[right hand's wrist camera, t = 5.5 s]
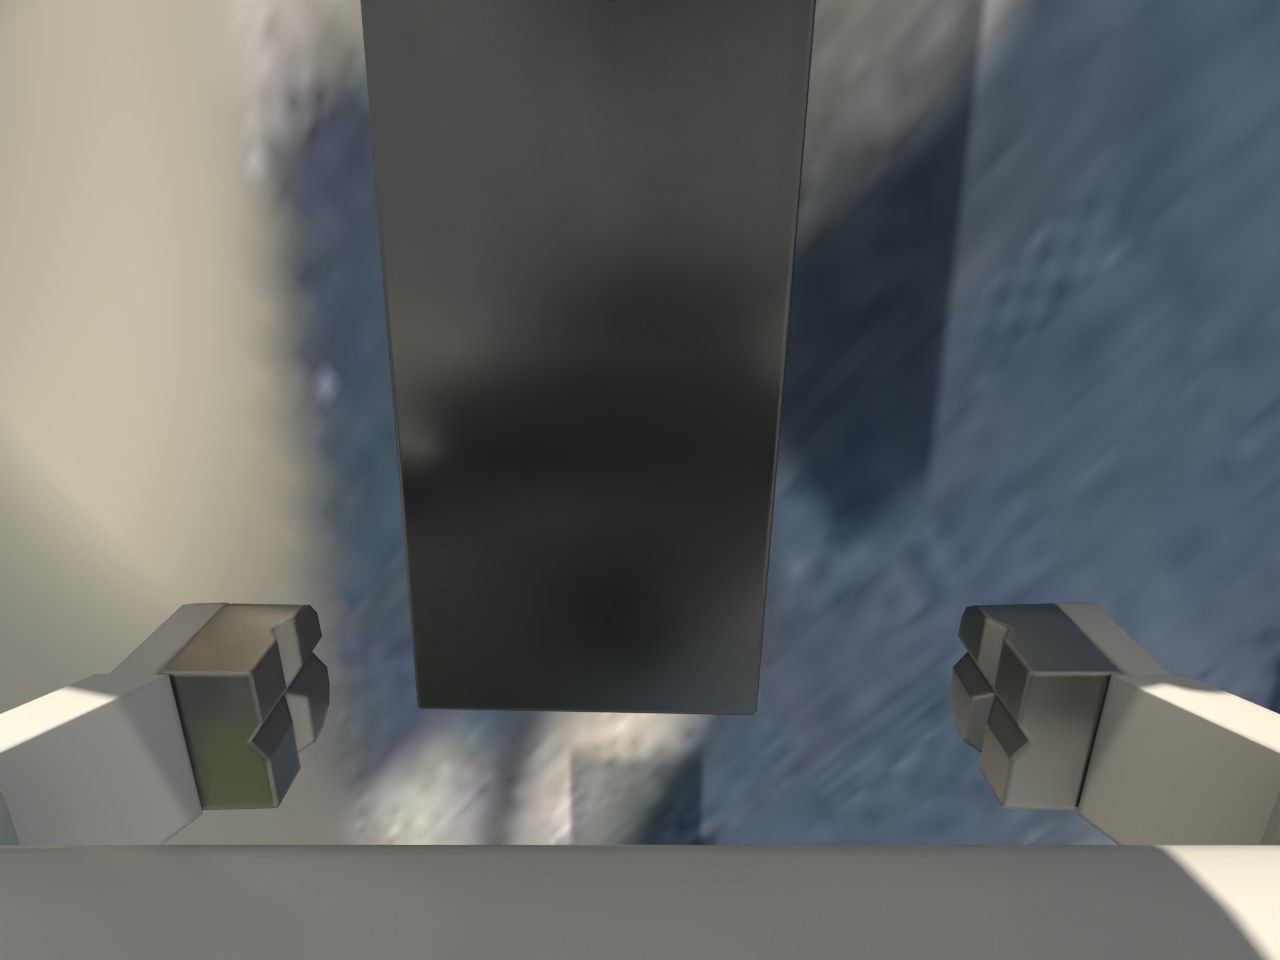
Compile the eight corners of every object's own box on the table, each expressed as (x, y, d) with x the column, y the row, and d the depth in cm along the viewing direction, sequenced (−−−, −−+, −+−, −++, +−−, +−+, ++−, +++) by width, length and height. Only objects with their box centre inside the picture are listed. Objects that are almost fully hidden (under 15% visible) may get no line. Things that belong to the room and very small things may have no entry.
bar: (711, 514, 23) (756, 717, 14) (502, 510, 23) (416, 710, 14) (773, -576, 15) (951, -1597, 7) (462, -585, 15) (224, -1629, 7)
